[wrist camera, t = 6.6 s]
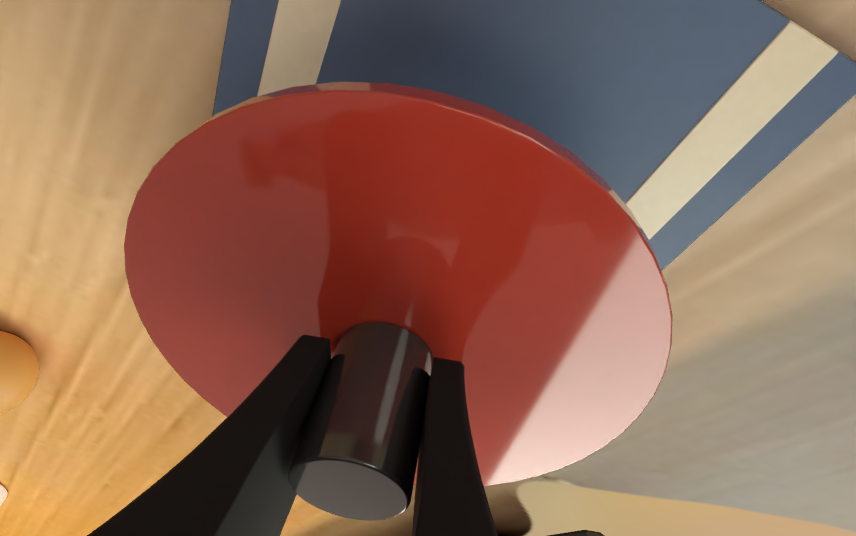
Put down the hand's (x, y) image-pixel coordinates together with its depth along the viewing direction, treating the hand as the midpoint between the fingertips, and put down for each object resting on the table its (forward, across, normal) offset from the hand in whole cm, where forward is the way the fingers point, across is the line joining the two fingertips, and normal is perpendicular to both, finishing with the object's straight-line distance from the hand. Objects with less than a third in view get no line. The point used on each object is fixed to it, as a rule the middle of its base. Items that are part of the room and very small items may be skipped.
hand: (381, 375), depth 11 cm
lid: (+1, 0, 0) cm, 1 cm away
